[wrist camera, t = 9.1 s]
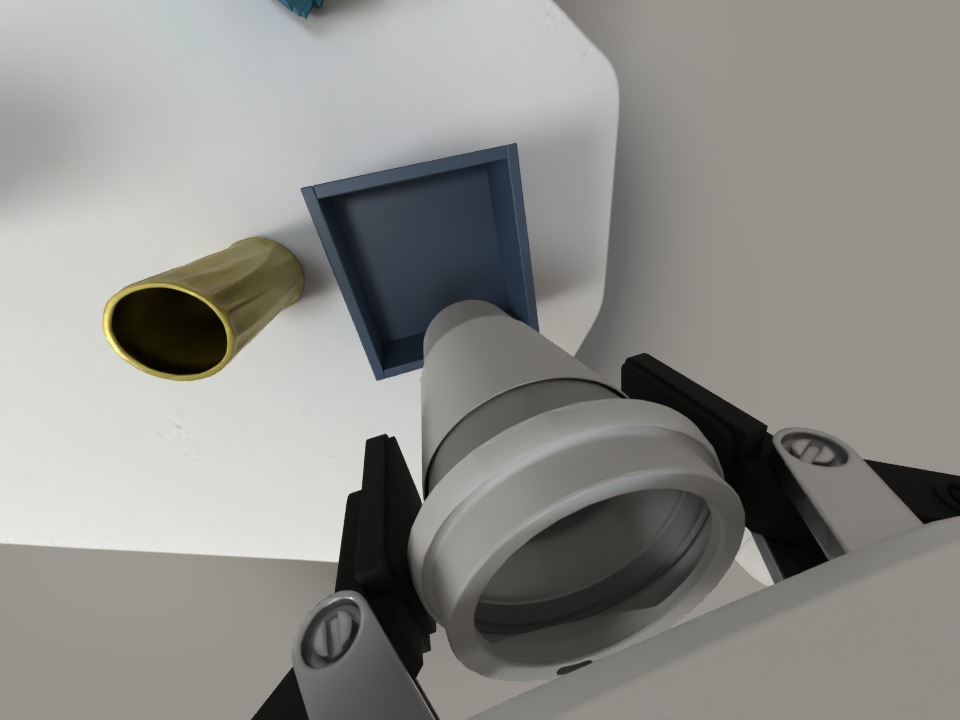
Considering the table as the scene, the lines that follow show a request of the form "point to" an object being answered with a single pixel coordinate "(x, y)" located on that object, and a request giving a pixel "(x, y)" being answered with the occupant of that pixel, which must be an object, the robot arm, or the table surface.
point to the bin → (425, 247)
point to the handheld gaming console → (301, 6)
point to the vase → (202, 310)
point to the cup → (555, 503)
